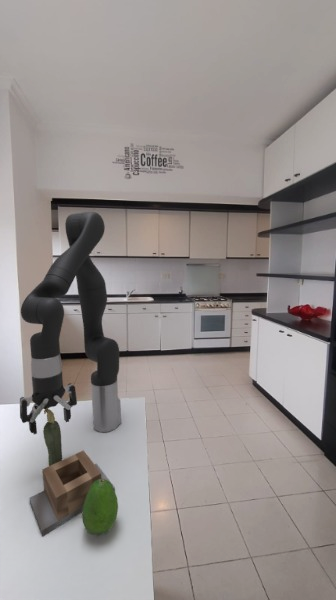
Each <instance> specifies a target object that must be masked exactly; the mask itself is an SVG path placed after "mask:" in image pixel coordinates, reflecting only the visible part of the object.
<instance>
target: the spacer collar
mask: <svg viewBox="0 0 336 600" xmlns="http://www.w3.org/2000/svg"><path fill="white" fill-rule="evenodd" d="M41 472H42V481H43V484H42V485H43V490H42V491H40V492H37V493H36V494H34V495H33V496H30V497H29V499H28V501H29V506H30V508H31V510H32V512H33V515H34V518H35V520H36V524H37V526H38V530H39V532H40V535H41V537H44V536H45V535H47V534H49V533H51V532H53V531H54V530H56V529H57V528H59V527H60V526H62V525H64V524H66V523H68V522H69V521H70V520H72V519H74V518H75V517H78V516H79V515H80V514H82V509H83V505H84V502H85V499H86V496H87V494H88V491H89V489H90V487H91V485H92V484H93V483H94V481H96V480H98V479H106V480H107V481H109V482H110V483H111V484H112V486H113V488H114V491H115V492H116V487H115V486H114V484H113V483H112V481H111V480H110V479H109V478H108V477H107V475H106V474H105V472H104V471H103V470H102V469H101V467H100V466H99V465H98V463H94V462H93V460H92V459H91V458H90V457H89V456H88V454H87V453H86V451H85V450H81V451H79V452H77V453H75V454H72V455H70V456H68V457H66V458H64V459H62V461H59V462H57V463H55V464H53V465H51V466H49V465H48V466H47V467H45V468H42V471H41Z"/></svg>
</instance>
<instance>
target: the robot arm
mask: <svg viewBox="0 0 336 600" xmlns="http://www.w3.org/2000/svg"><path fill="white" fill-rule="evenodd" d="M64 225H65V226H64V227H65V234H66V238H67V242H68V245H69V248H67V249H66V250H65V251H64V252H63V253H61V254H60V255H59V256H58V257H57V258H56V259H55V260H54V261H53V263H52V264H51V265H50V267H49V269H48V271H47V272H46V273H45V276H44V278H43V279H42V281H41V282H40V283H39V284H37V285H36V286H35V287H34V288H33V290H32V291H31V292H30V293H29V294H28V295H27V296H26V297H25V299H24V300H23V302H22V303H21V307H20V316H21V318H22V320H23V321H24V322H26V323H28V324H32V325H33V324H34V325H42V326H41V327H42V329H41V331H39V332H36V333H34V334H32V335H31V337H30V339H29V346H30V360H31V361H30V371H31V372H30V373H31V385H32V394H31V396H29V397H24V396H21V397H20V398H19V418H20V420H21V422H22V423H23V424H25V423H28V427H29V428H28V429H29V431H30V433H31V434H33V435H37V434H38V431H37V428H38V427H37V420H36V419H37V418H38V416H39V415H40V414H41V413H42V411H44V410H45V409H50V408H53V407H56V406H57V405H58V404H60V405H61V407H63V420H64V421H65V423H69V422H70V420H71V417H72V415H71V414H72V412H71V411H72V410H71V409H72V407H74V406H77V404H78V400H77V392H76V386H75V385H74V384H73V383H71V382H70V383H68V384H67V385H65V386H64V381H63V378H64V377H63V364H62V358H61V357H62V356H61V348H60V336H61V331H62V328H63V327H62V326H63V323H64V317H65V308H64V306H63V303H62V302H61V301H60V299H57V298H60V297H64V296H65V295H67V293H68V292H69V290H70V288H71V286H72V284H73V282H74V280H75V279H76V286H77V294H78V301H79V304H80V311H81V317H82V318H81V319H82V325H83V327H82V328H83V343H84V346H83V347H84V353H85V356H86V357H87V358H88V359H89V360H90V361H92V362H95V363H96V370H95V371H93V372H92V373H91V374H90V387H91V404H92V405H91V406H92V423H93V429H94V430H95V431H96V432H100V433H106V432H107V433H108V432H111V431H113V430H115V429H117V428H118V426H119V425H121V424H122V407H121V406H122V405H121V404H122V403H121V399H120V397H119V391H118V390H119V389H118V388H119V387H118V376H119V375H118V374H119V372H120V346H119V344H118V342H117V341H116V340H115V339H114V338H113V339H112V338H110V337H107V336H105V335H104V330H103V316H104V313H105V310H106V307H107V303H108V294H107V286H106V282H105V281H106V280H105V279H104V276H103V275H102V273H101V272H100V270H99V269H98V267H97V266H96V265H95V264H94V262H93V260H92V258H91V257H90V255H91V253H92V251H93V250H94V249H95V247H96V246H98V244H99V242H100V241H101V240H102V238H103V236H104V234H105V231H106V230H105V228H106V227H105V222H104V219H103V217H102V216H101V215H100V214H99V213H98V212H95V211H85V212H84V211H83V212H78V213H71V214H69V215H68V216H67V217H66V219H65V224H64ZM65 393H67V394H68V397H69V400H68V401H66V400H65V399H64V398H63V396H64V395H65ZM32 402H33V403H34V404H33V406H32V407H31V410H30V412H29V413H28V407H29V406H30V405H31V403H32Z"/></svg>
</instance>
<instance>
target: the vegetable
mask: <svg viewBox="0 0 336 600" xmlns="http://www.w3.org/2000/svg"><path fill="white" fill-rule="evenodd" d="M43 413H44V415H45V414H46V421H47V422H46V423H45V424H44V425H43V430H42V433H43V438H44V442H45V446H46V449H47V453H48V455H47V457H48V459H47V461H48V467H49V466H51V465H53V464H55V463H57V462H59V461H62V460H63V449H62V448H63V447H62V431H61V427H60V424H59V422H58V421H57V420H56V418H55V413H54V412H53V411H52V410H51V409H50V408H48V409H43Z"/></svg>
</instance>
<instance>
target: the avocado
mask: <svg viewBox="0 0 336 600" xmlns="http://www.w3.org/2000/svg"><path fill="white" fill-rule="evenodd" d="M110 482H111V481H110ZM110 482H109V481H107V480H106V479H98V480H96V481H94V483H93V484H92V485H91V487H90V489H89V491H88V494H87V496H86V499H85V502H84V505H83V509H82V513H81V514H82V516H81V517H82V524H83V526H84V528H85V530H86V531H87V532H88V533H89V534H90V535H95V536H103V535H105V534H106V533H108V532H110V530H111V529H112V528H113V526H114V524H115V523H116V519H117V517H118V511H119V502H118V496H117V494H116V490H115V491H114V488H113V486H114V485H113V486H112V484H113V483H112V482H111V483H112V484H111V483H110Z"/></svg>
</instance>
